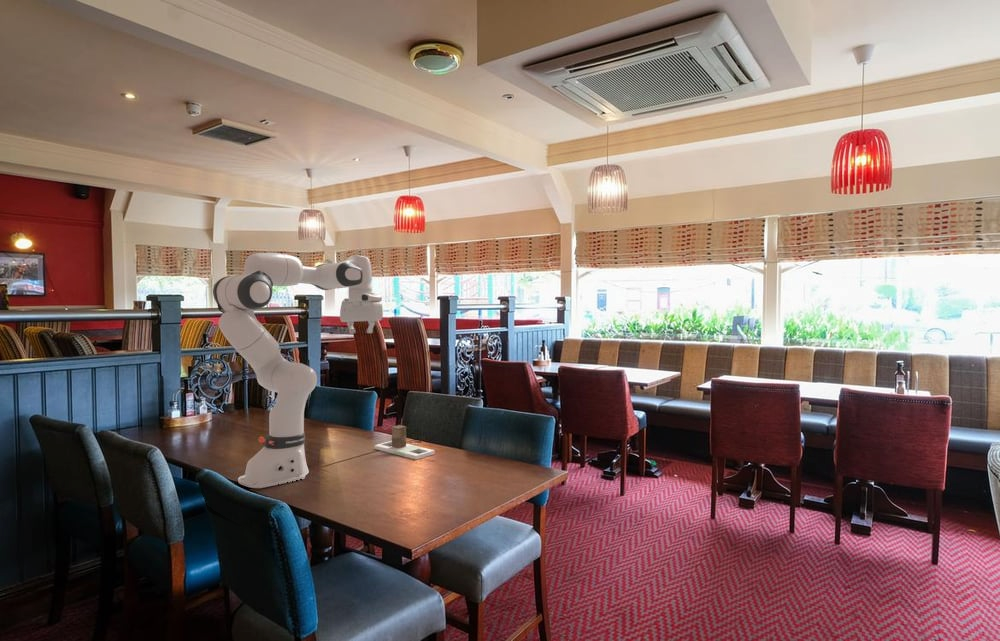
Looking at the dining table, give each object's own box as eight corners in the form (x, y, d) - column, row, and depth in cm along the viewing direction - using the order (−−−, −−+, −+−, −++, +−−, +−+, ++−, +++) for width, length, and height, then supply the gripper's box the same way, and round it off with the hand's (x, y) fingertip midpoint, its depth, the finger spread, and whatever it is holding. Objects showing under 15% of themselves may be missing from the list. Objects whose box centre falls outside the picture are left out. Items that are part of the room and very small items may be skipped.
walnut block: (398, 448, 221) (398, 428, 221) (391, 446, 223) (391, 426, 223) (406, 446, 224) (406, 426, 224) (399, 444, 226) (399, 425, 226)
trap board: (416, 459, 211) (416, 455, 211) (374, 448, 225) (374, 445, 225) (434, 454, 219) (434, 450, 219) (393, 443, 233) (393, 440, 233)
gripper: (335, 298, 219) (336, 333, 219) (372, 295, 208) (373, 333, 208) (348, 298, 224) (348, 333, 224) (385, 296, 213) (385, 332, 213)
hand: (361, 333), depth 216 cm, fingers open, 8 cm apart
